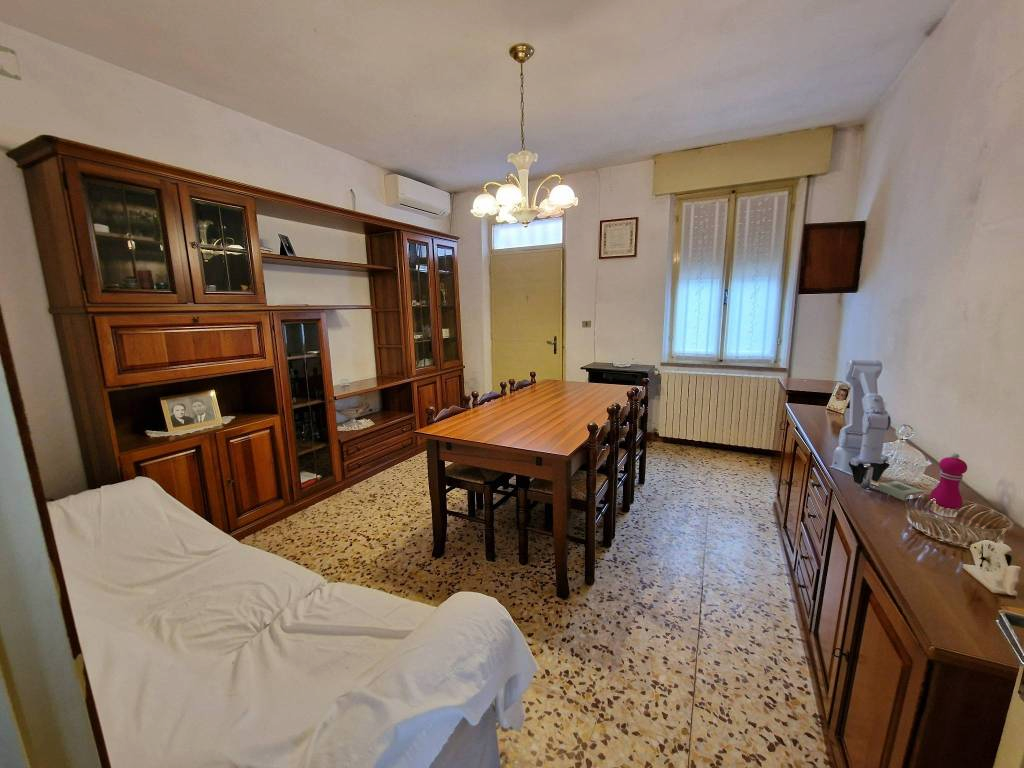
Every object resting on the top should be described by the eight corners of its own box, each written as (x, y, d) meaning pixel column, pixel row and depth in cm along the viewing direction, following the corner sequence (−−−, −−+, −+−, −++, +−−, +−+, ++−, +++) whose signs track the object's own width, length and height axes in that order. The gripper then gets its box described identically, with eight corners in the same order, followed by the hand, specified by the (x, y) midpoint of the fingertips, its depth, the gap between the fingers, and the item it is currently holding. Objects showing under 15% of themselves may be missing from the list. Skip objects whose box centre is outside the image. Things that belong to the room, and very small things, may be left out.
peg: (857, 486, 150) (861, 465, 149) (864, 485, 151) (867, 464, 149) (866, 489, 148) (869, 468, 146) (872, 488, 148) (875, 467, 146)
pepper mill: (935, 516, 129) (947, 456, 125) (921, 505, 136) (933, 448, 132) (965, 520, 127) (979, 459, 123) (950, 509, 133) (963, 450, 129)
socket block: (878, 490, 147) (879, 483, 146) (895, 487, 148) (896, 481, 148) (903, 500, 139) (905, 493, 139) (921, 497, 141) (923, 491, 140)
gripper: (867, 451, 141) (861, 488, 143) (900, 447, 144) (893, 484, 146) (847, 444, 147) (841, 480, 150) (878, 441, 150) (872, 476, 153)
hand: (866, 481), depth 149 cm, fingers open, 7 cm apart
